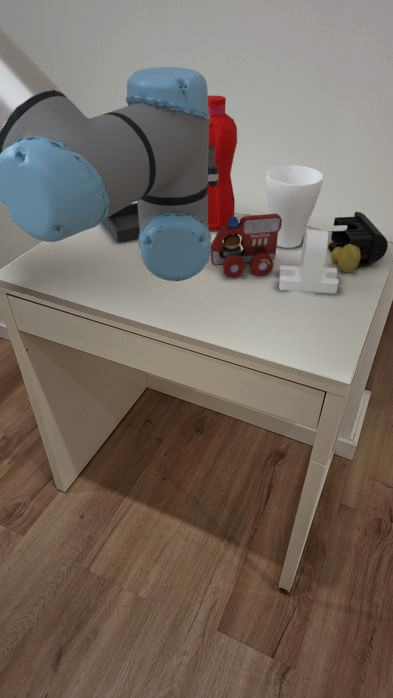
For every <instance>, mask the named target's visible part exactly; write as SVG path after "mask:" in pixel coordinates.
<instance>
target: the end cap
mask: <svg viewBox="0 0 393 698" xmlns="http://www.w3.org/2000/svg"><path fill="white" fill-rule="evenodd" d="M333 226H334V227H338V226H339V227H340V226H346V229H344V230H332V231H331V236H330V240H331V242H330V248H331V249H332V251H333V250H334V249H335V248H336V247H341V248H343V247H344V246H346V245H348V244H351V245H355V246H358V247H359V249H360V253H361V255H360V256H361V258H360V262H359V264H358V266H357V267H356V268H366V267H369V266H371V265H373V264H375V263H377V262H378V261H380V260H381V259H382V258H383V257H384V256H385V255H386V253H387V251H388V247H389V242H388V239H387V238H386V237H385V235H384V234H383V233H382V232H381V231H380V230H379V229H378V227H376V226H375V224H374V223H373V222H372V221H371V220H370V219H369V218H368V217H367V216H366V215H365V214H364V213H363V212H362V211H354V216H337V217H334V219H333Z"/></svg>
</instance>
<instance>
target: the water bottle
mask: <svg viewBox="0 0 393 698" xmlns="http://www.w3.org/2000/svg"><path fill="white" fill-rule="evenodd" d="M226 101H227V98H226V97H225V96H223V95H212V94H211V95H209V94H208V112H209V116H210V121H209V146H214V147H215V164H216V165H217V166H218V186H214V187H212V186H210V185H209V184H208V230H209V231H217V232H218V231H219V229H220V228H221V227H222V226H223V225H227V220H228V218H229V217H231V216H235V211H236V210H235V209H236V208H235V205H236V203H235V201H236V200H235V195H234V194H235V193H234V189H233V183H232V176H231V174H232V173H231V172H232V167H233V162H234V158H235V154H236V153H235V152H236V149H237V144H238V126H237V125H236V122H235V120H234V118H232V116H230V115H228V114H227V113H226Z"/></svg>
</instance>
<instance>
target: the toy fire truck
mask: <svg viewBox="0 0 393 698" xmlns="http://www.w3.org/2000/svg"><path fill="white" fill-rule="evenodd" d="M281 225H282V218H281V217H280V216H279V215H278V214H270V213H267V214H254V215H244V216H242V217H241V218H240V220H239V219H238V217H236V216H235V215H234V216H231V217H229V218H228V220H227V225H223V226H222V227H221V228H220V229H219V231H217V233H216V235H215V237H214V238H213V241H211V253H210V262H211V264H212V265H213V266H222V271H223V273H224V274H225V275H226V276H227V277H230V278H237V277H240V276H241V275H242V274H243V273H244V272H245V269H246V264H249V267H250V269H251V271H252V273H253V274H254V275H256V276H265V275H266V276H267V274H269V273H270V272H271V271H272V270H273V268H274V259H276V256H277V248H278V246H277V237H278V232H279V230H280V229H281ZM240 237H241V238H240Z"/></svg>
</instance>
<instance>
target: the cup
mask: <svg viewBox="0 0 393 698" xmlns="http://www.w3.org/2000/svg"><path fill="white" fill-rule="evenodd" d="M265 175H266V176H265V188H266V199H267V207H268V212H269V214H278V215H279V216H280V217H281V218H282V225H281V229H280V230H279V232H278V237H277V247H279V248H284V249H293V248H296V247H299V246H301V245H302V241H303V239H304V235H305V231H306V228H307V225H308V223H309V221H310V219H311V216H312V214H313V211H314V209H315V206H316V204H317V201H318V199H319V195H320V193H321V190H322V186H323V181H324V174H323V173H322V172H321V171H319V170H318V169H316V168H312V167H309V166H305V165H297V164H286V165H278V166H274V167H272V168H270V169H269V170H267V172H266V174H265Z"/></svg>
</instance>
